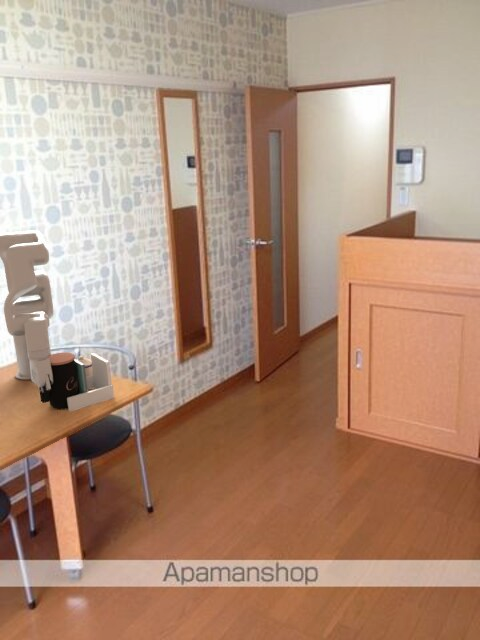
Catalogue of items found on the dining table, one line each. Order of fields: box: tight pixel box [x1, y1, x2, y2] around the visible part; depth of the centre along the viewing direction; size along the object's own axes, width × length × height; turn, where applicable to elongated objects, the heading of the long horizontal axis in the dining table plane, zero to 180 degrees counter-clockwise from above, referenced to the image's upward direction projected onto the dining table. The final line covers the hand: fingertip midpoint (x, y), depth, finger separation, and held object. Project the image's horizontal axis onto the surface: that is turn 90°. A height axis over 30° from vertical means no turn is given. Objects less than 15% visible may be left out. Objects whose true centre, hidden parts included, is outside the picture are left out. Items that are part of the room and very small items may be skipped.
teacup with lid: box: [76, 355, 93, 377], centre depth 235 cm, size 12×9×12 cm
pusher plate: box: [74, 358, 89, 394], centre depth 219 cm, size 12×1×15 cm, turn 39°
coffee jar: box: [49, 352, 79, 410], centre depth 215 cm, size 11×11×18 cm
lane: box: [67, 352, 115, 413], centre depth 220 cm, size 15×17×14 cm
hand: (46, 401), depth 213 cm, fingers closed
